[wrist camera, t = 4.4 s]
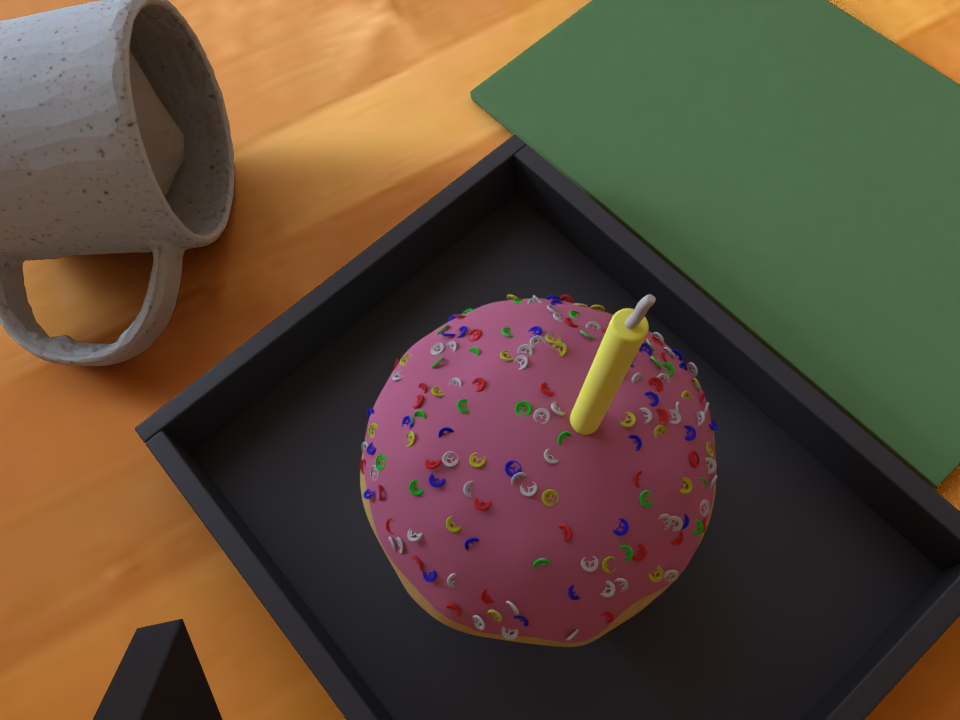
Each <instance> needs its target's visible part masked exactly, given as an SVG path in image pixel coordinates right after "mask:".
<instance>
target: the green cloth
mask: <svg viewBox="0 0 960 720" xmlns="http://www.w3.org/2000/svg"><path fill="white" fill-rule="evenodd" d="M470 93H471V99H472V100H474V101H475V102H476V103H477V104H478V105H479V106H481V107H482V108H483V109H484V110H485V111H487V112H488V113H489V114H490V115H491V116H492V117H494V118H495V119H496V120H497V121H498V122H499V123H501V124H502V125H503V126H504V127H505V128H507V129H508V130H509V131H510V132H511V133H512V134H514V135H517V136H518V137H519V138H520V139H521V140H523V141H524V142H525V143H526V144H527V145H529V146H530V147H531V148H532V149H533V150H535V151H536V152H537V153H538V154H539V155H540V156H542V157H543V158H544V159H545V160H546V161H547V162H549V163H550V164H551V165H552V166H553V167H555V168H556V169H557V170H558V171H559V172H560V173H562V174H563V175H564V176H565V177H566V178H568V179H569V180H570V181H571V182H572V183H573V184H575V185H576V186H577V187H578V188H579V189H580V190H582V191H583V192H584V193H585V194H586V195H588V196H589V197H590V198H591V199H592V200H593V201H595V202H596V203H597V204H598V205H599V206H600V207H602V208H603V209H604V210H605V211H606V212H608V213H609V214H610V215H611V216H612V217H613V218H615V219H616V220H617V221H618V222H619V223H621V224H622V225H623V226H624V227H625V228H626V229H628V230H629V231H630V232H631V233H632V234H633V235H635V236H636V237H637V238H638V239H639V240H641V241H642V242H643V243H644V244H645V245H646V246H648V247H649V248H650V249H651V250H652V251H653V252H655V253H656V254H657V255H658V256H659V257H661V258H662V259H663V260H664V261H665V262H666V263H668V264H669V265H670V266H671V267H672V268H674V269H675V270H676V271H677V272H678V273H679V274H681V275H682V276H683V277H684V278H685V279H686V280H688V281H689V282H690V283H691V284H692V285H694V286H695V287H696V288H697V289H698V290H699V291H701V292H702V293H703V294H704V295H705V296H706V297H708V298H709V299H710V300H711V301H712V302H714V303H715V304H716V305H717V306H718V307H719V308H721V309H722V310H723V311H724V312H725V313H726V314H728V315H729V316H730V317H731V318H732V319H734V320H735V321H736V322H737V323H738V324H739V325H741V326H742V327H743V328H744V329H745V330H747V331H748V332H749V333H750V334H751V335H752V336H754V337H755V338H756V339H757V340H758V341H759V342H761V343H762V344H763V345H764V346H765V347H767V348H768V349H769V350H770V351H771V352H772V353H774V354H775V355H776V356H777V357H778V358H779V359H781V360H782V361H783V362H784V363H785V364H787V365H788V366H789V367H790V368H791V369H792V370H794V371H795V372H796V373H797V374H798V375H800V376H801V377H802V378H803V379H804V380H805V381H807V382H808V383H809V384H810V385H811V386H812V387H814V388H815V389H816V390H817V391H818V392H820V393H821V394H822V395H823V396H824V397H825V398H827V399H828V400H829V401H830V402H831V403H832V404H834V405H835V406H836V407H837V408H838V409H840V410H841V411H842V412H843V413H844V414H845V415H847V416H848V417H849V418H850V419H851V420H853V421H854V422H855V423H856V424H857V425H858V426H860V427H861V428H862V429H863V430H864V431H865V432H867V433H868V434H869V435H870V436H871V437H873V438H874V439H875V440H876V441H877V442H878V443H880V444H881V445H882V446H883V447H884V448H885V449H887V450H888V451H889V452H890V453H891V454H893V455H894V456H895V457H896V458H897V459H898V460H900V461H901V462H902V463H903V464H904V465H906V466H907V467H908V468H909V469H910V470H911V471H913V472H914V473H915V474H916V475H917V476H918V477H920V478H921V479H922V480H923V481H924V482H926V483H927V484H928V485H929V486H930V487H931V488H933V489H935V488H936V487H938V486H939V485H940V484H941V483H942V482H943V481H944V480H945V479H946V478H947V476H948V475H949V474H950V473H951V472H952V471H953V470H954V469H955V468H956V467H957V466H958V465H959V464H960V85H959V84H958V83H956V82H954V81H953V80H951V79H950V78H948V77H947V76H945V75H943V74H942V73H940V72H939V71H937V70H936V69H934V68H932V67H931V66H929V65H928V64H926V63H925V62H923V61H921V60H920V59H918V58H917V57H915V56H914V55H912V54H910V53H909V52H907V51H906V50H904V49H903V48H901V47H899V46H898V45H896V44H895V43H893V42H892V41H890V40H888V39H887V38H885V37H884V36H882V35H881V34H879V33H878V32H876V31H874V30H873V29H871V28H870V27H868V26H867V25H865V24H863V23H862V22H860V21H859V20H857V19H856V18H854V17H852V16H851V15H849V14H848V13H846V12H845V11H843V10H841V9H840V8H838V7H837V6H835V5H834V4H832V3H830V2H829V1H827V0H592V1H591V2H589V3H588V4H587V5H585V6H584V7H583V8H581V9H580V10H579V11H577V12H576V13H575V14H573V15H572V16H571V17H569V18H568V19H567V20H565V21H564V22H563V23H561V24H560V25H559V26H557V27H556V28H555V29H553V30H552V31H551V32H549V33H548V34H547V35H545V36H544V37H543V38H541V39H540V40H539V41H537V42H536V43H535V44H533V45H532V46H531V47H529V48H528V49H527V50H525V51H524V52H523V53H521V54H520V55H519V56H517V57H516V58H515V59H513V60H512V61H511V62H509V63H508V64H507V65H505V66H504V67H503V68H501V69H500V70H498V71H497V72H496V73H494V74H493V75H492V76H490V77H489V78H488V79H486V80H485V81H484V82H482V83H481V84H480V85H478V86H477V87H476V88H474V89H473V90H472V91H471V92H470Z"/></svg>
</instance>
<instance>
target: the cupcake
mask: <svg viewBox="0 0 960 720" xmlns="http://www.w3.org/2000/svg"><path fill="white" fill-rule="evenodd" d="M511 297H513V298H511ZM553 298H556V299H553ZM565 298H568V299H569V300H566V299H565ZM507 299H508V300H506V301H499V302H493V303H489V304H486V305H484V306H481V307H479V308H476V309H474V310H473V309H471V308H470V309H467V310H465V311H464V312H462V314H461V315H459V314H453V315H452V316H450V317H449V319H448V322H447V323H446V324H444V325H442V326H441V327H439V328H438V329H436V330H434V331H433V332H431V333H430V334H428V335H427V336H425V337H424V338H422V339H421V340H419V341H418V342H417V343H416V344H414V345H413V346H412V347H411V348H410V349H409V350H408V351H407V352H406V353H405V354H404V355H403V357H402V358H401V359H400V361H399V360H398V359H397V360H396V362H395V366H394V370H393V372H392V374H391V376H390V377H389V379H388V381H387V383H386V384H385V386H384V388H383V390H382V391H381V393H380V395H379V397H378V399H377V401H376V403H375V405H374V407H373V409H372V408H369V409H368V412H367V415H368V419H369V422H368V425H367V430H366V435H365V442H363V443H362V445H361V448H362V452H363V453H362V459H361V463H360V487H361V495H362V501H363V505H364V508H365V512H366V515H367V517H368V520H369V522H370V525H371V527H372V529H373V531H374V533H375V535H376V537H377V539H378V541H379V543H380V545H381V547H382V549H383V550H384V552H385V554H386V556H387V558H388V559H389V561H390V563H391V565H392V566H393V568H394V570H395V572H396V573H397V575H398V577H399V579H400V580H401V582H402V584H403V586H404V587H405V589H406V590H407V592H408V593H409V595H410V596H411V597H412V598H413V599H414V600H415V601H416V602H417V603H418V604H419V605H420V606H421V607H422V608H423V609H424V610H425V611H426V612H427V613H428V614H430V615H431V616H432V617H433V618H435V619H436V620H438V621H439V622H441V623H443V624H445V625H446V626H449V627H451V628H453V629H455V630H458V631H461V632H464V633H468V634H472V635H476V636H481V637H487V638H494V639H500V640H506V641H512V642H519V643H527V644H536V645H546V646H556V647H577V646H582V645H585V644H588V643H590V642H593V641H594V640H596V639H598V638H600V637H601V636H603V635H604V634H606V633H607V632H609V631H611V630H612V629H614V628H615V627H617V626H618V625H620V624H622V623H623V622H625V621H626V620H628V619H630V618H631V617H633V616H634V615H636V614H637V613H638V612H640V611H641V610H642V609H644V608H645V607H646V606H647V605H648V604H650V603H651V602H652V601H653V600H654V599H655V598H657V597H658V596H659V595H660V594H661V593H662V592H663V591H665V590H666V589H667V588H668V587H669V586H670V585H671V584H672V582H673V581H675V580H676V579H677V578H678V577H679V575H680V574H681V573H682V572H683V571H684V569H685V568H686V566H687V565H688V563H689V562H690V560H691V558H692V556H693V554H694V552H695V551H696V549H697V547H698V545H699V544H700V542H701V540H702V538H703V536H704V534H705V531H706V529H707V526H708V523H709V520H710V517H711V513H712V509H713V504H714V499H715V490H716V481H717V478H718V476H717V475H716V467H717V465H716V452H715V439H714V431H717V430H718V425H717V423H716V422H715V421H714V420H712V419H711V416H710V412H709V408H708V406H709V402H706V399H705V396H704V391H702V389H701V386H700V384H699V382H698V380H697V379H696V377H695V376H697V373H698V370H697V367H696V366H695V364H693V363H691V362H690V363H688V364H687V366H686V364H685V363H684V362H683V361H682V359H683V355H682V353H681V352H680V351H678V350H675V349H673V350H672V349H671V348H670V347H668V346H667V345H666V344H665V343H664V339H663V337H662V335H661V334H660V333H658V332H654V333H651V332H650V331H648V329H649V325H648V321H647V319H646V317H645V315H646V313H647V311H648V309H649V308H650V307H651V306H652V305H653V304H654V303H655V301H656V299H655V297H654V296H653V295H646V296H645V297H643V298H642V299H641V300H640V301H639V302H638V304H637V305H636V308H635V309H630V308H626V309H621V310H619V311H617V312H616V313H615V314H614V315H612V314H610V313H607V312H604V311H605V308H604V307H603V306H601V305H592V306H591V307H587V305H585V304H580V303H574V300H573V299H572V297H570V296H569V295H562V296H561V297H558V296H555V295H550V296H547V298H546V299H543V298H539V297H537V296H535V295H533V298H531V299H519V298H518V297H516V296H514V295H511V294H509V295H507ZM512 299H513V300H512ZM564 300H565V301H564ZM568 301H570V302H568ZM594 308H596V309H594ZM598 308H601V309H598ZM468 311H470V312H468ZM466 312H467V313H466ZM454 317H457V318H455V319H454ZM452 319H453V320H452ZM656 335H657V336H658V337H659V338H658V337H657V336H656ZM675 353H676V354H675ZM677 354H678V355H679V357H678V356H677ZM398 361H399V362H398ZM690 367H691V371H690ZM692 367H693V368H694V370H693V369H692ZM692 371H693V372H694V373H692ZM370 412H371V413H370ZM713 424H714V425H715V427H714V426H713Z"/></svg>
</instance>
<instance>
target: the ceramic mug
mask: <svg viewBox="0 0 960 720" xmlns="http://www.w3.org/2000/svg"><path fill="white" fill-rule="evenodd" d="M233 159H234V152H233V144H232V140H231V135H230V127H229V121H228V117H227V113H226V109H225V104H224V100H223V95H222V92H221V90H220V88H219V85H218V83H217V80H216V78H215V74H214V70H213V68H212V66H211V64H210V62H209V60H208V59H207V56H206V53H205V51H204V49H203V48H202V46H201V44H200V42H199V40H198V38H197V36H196V34H195V33H194V31H193V30H192V28H191V27H190V26H189V24H188V23H187V21H186V20H185V19H184V17H183V16H182V15H181V14H180V13H179V11H178V10H177V9H176V8H175V7H174V6H173V5H172V4H171V3H170V2H169V1H167V0H100V1H95V2H90V3H85V4H80V5H75V6H70V7H65V8H60V9H55V10H50V11H46V12H42V13H37V14H33V15H28V16H23V17H19V18H14V19H9V20H4V21H0V323H1V325H2V326H3V328H4V329H5V331H6V332H7V333H8V334H9V335H10V336H11V337H12V338H13V339H14V340H15V341H16V342H17V343H18V344H19V345H20V346H22V347H23V348H25V349H26V350H27V351H29V352H30V353H32V354H33V355H35V356H37V357H39V358H41V359H43V360H45V361H50V362H53V363H59V364H65V365H71V366H105V365H111V364H116V363H121V362H124V361H127V360H129V359H131V358H133V357H135V356H137V355H139V354H141V353H143V352H144V351H145V350H146V349H147V348H149V347H150V346H151V344H152V343H153V342H154V341H155V340H156V339H157V338H158V337H159V336H160V335H161V334H162V333H163V331H164V330H165V328H166V326H167V325H168V323H169V321H170V320H171V318H172V315H173V312H174V309H175V306H176V302H177V297H178V292H179V287H180V281H181V276H182V259H183V255H184V252H185V250H187V249H191V248H196V247H204V246H207V245H209V244H211V243H213V242H214V241H216V240H217V239H218V238H219V237H220V235H221V234H222V232H223V231H224V229H225V228H226V225H227V222H228V219H229V216H230V212H231V206H232V201H233V195H234V168H235V165H234V160H233ZM138 252H140V253H148V252H152V253H153V267H152V271H151V274H150V280H149V286H148V290H147V293H146V296H145V300H144V303H143V306H142V309H141V311H140V312H139V314H138V315H137V317H136V318H135V320H134V321H133V323H132V324H131V325H130V327H129V328H128V329H127V330H125V331H124V332H123V333H122V334H121V336H120V337H119V339H118V340H117V341H116V342H115V343H113V344H101V343H86V342H79V341H75V340H74V339H72V338H70V337H69V336H67V335H63V336H58V337H49V336H48V335H47V333H46V332H45V331H44V330H43V329H42V328H41V326H40V325H39V324H38V323H37V321H36V319H35V317H34V315H33V312H32V308H31V306H30V305H29V303H28V300H27V295H26V290H25V286H24V277H23V269H22V267H23V262H24V261H25V260H43V259H56V258H62V257H67V256H73V255H88V254H90V255H95V254H115V253H138Z"/></svg>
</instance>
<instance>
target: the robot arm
mask: <svg viewBox="0 0 960 720" xmlns="http://www.w3.org/2000/svg"><path fill="white" fill-rule="evenodd" d="M93 720H222V717H221V715H220V712H219V710H218V707H217V705H216V702H215V700H214V697H213V695H212V692H211V690H210V687H209V685H208V682H207V680H206V677H205V675H204V672H203V669H202V667H201V664H200V662H199V659H198V657H197V654H196V652H195V649H194V647H193V644H192V642H191V639H190V637H189V634H188V632H187V629H186V627H185V624H184V622H183V619H180V620H175V621H170V622H165V623H161V624H156V625H151V626H147V627H142V628H137V630H136V632H135V634H134V636H133V638H132V640H131V642H130V644H129V646H128V648H127V650H126V652H125V654H124V656H123V659H122V661H121V663H120V665H119V667H118V669H117V671H116V673H115V675H114V677H113V679H112V681H111V683H110V685H109V687H108V689H107V691H106V693H105V695H104V698H103V700H102V702H101V704H100V706H99V708H98V710H97V712H96V714H95V716H94V718H93Z"/></svg>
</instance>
